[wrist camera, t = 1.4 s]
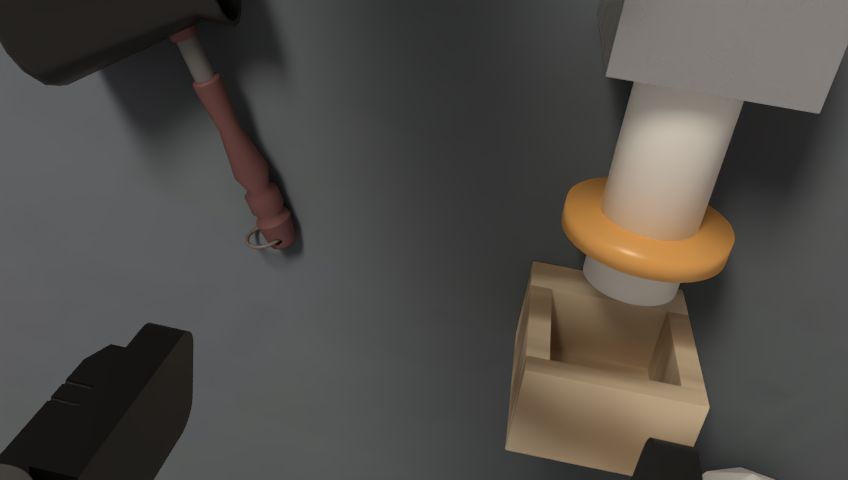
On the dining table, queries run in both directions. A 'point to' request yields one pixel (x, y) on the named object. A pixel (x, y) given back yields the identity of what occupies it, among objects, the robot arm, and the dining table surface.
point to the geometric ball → (733, 475)
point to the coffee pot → (127, 34)
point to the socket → (600, 374)
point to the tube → (656, 198)
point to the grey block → (728, 47)
